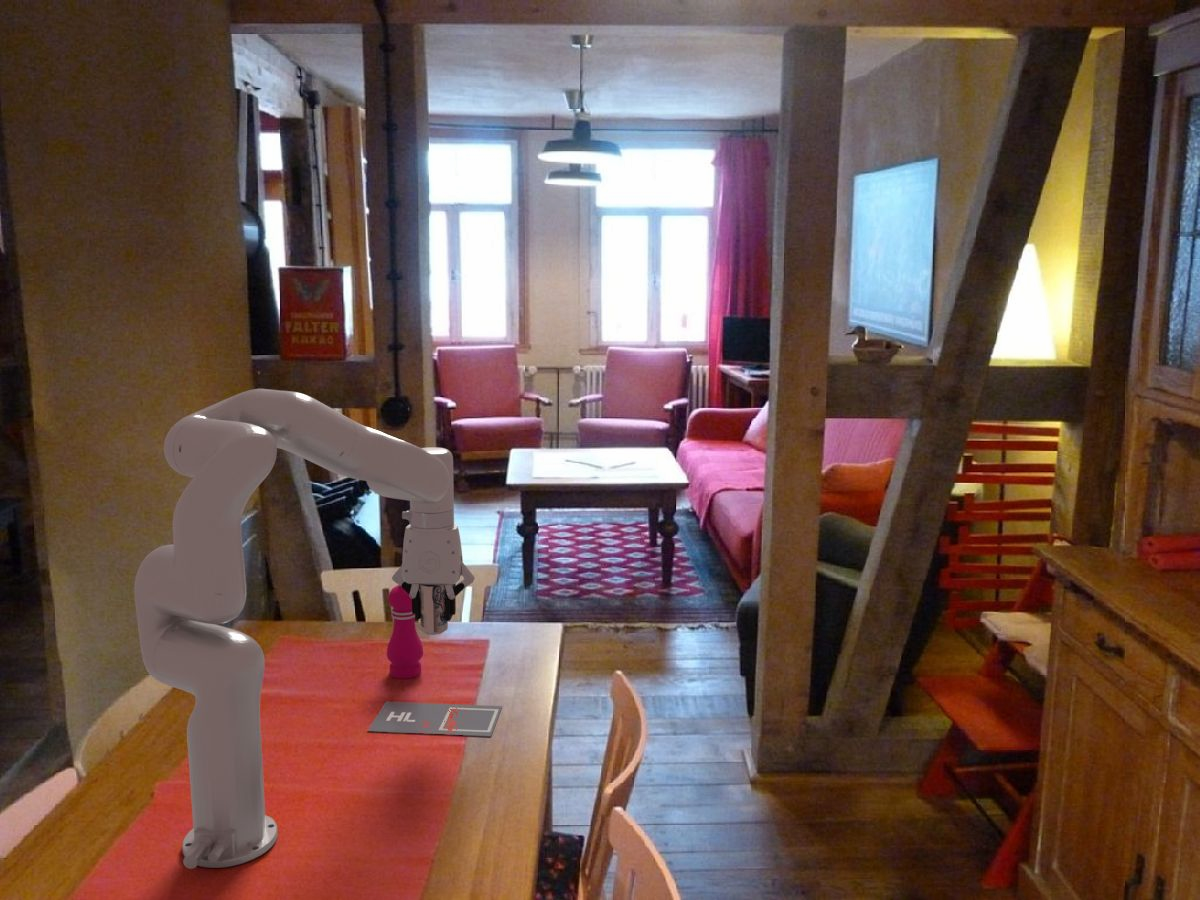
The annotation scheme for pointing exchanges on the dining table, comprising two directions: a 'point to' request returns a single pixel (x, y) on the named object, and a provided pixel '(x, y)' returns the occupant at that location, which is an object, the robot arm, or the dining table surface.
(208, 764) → the robot arm
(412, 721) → the slate board
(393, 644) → the pepper mill
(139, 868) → the dining table surface
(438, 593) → the beer can
